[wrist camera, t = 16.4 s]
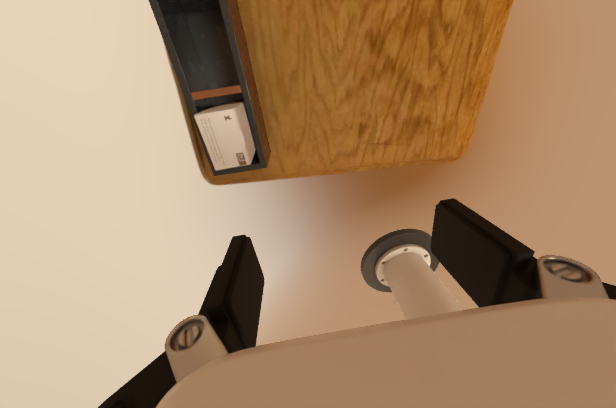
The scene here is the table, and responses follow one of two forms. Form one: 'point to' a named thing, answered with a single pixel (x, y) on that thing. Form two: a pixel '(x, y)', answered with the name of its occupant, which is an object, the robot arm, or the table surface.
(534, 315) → the robot arm
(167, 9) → the caddy
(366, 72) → the table surface
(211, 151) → the cosmetic box
